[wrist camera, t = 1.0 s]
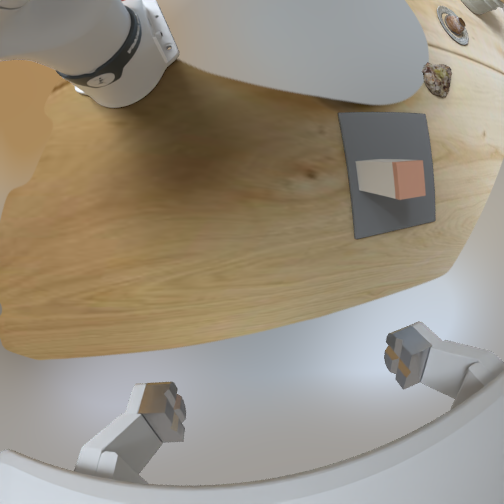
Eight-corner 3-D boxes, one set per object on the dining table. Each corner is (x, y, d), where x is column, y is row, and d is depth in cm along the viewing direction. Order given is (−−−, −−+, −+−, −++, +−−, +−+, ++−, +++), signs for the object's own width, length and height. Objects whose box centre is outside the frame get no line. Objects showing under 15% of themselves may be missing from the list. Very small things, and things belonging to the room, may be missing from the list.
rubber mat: (337, 113, 39) (339, 112, 39) (423, 114, 40) (425, 114, 39) (354, 238, 46) (356, 239, 46) (433, 220, 47) (435, 220, 46)
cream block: (355, 161, 41) (396, 162, 30) (379, 158, 42) (422, 160, 30) (359, 190, 43) (399, 199, 32) (382, 186, 43) (425, 195, 32)
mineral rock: (443, 105, 38) (430, 70, 33) (427, 102, 41) (413, 70, 37) (461, 86, 37) (449, 54, 32) (446, 84, 40) (434, 54, 36)
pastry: (427, 4, 31) (437, -2, 27) (453, 11, 31) (463, 6, 26) (448, 43, 35) (460, 39, 30) (471, 47, 35) (482, 44, 30)
